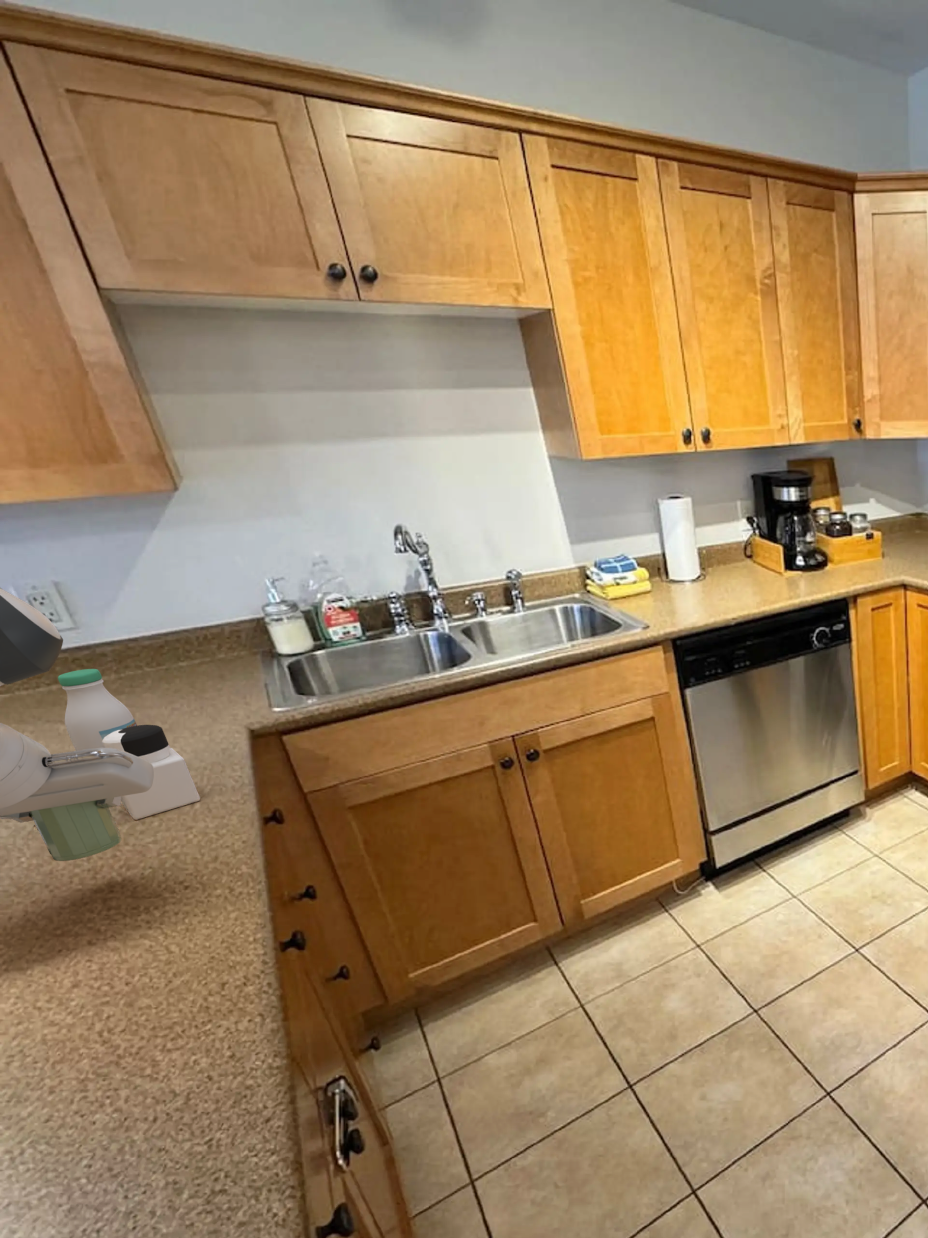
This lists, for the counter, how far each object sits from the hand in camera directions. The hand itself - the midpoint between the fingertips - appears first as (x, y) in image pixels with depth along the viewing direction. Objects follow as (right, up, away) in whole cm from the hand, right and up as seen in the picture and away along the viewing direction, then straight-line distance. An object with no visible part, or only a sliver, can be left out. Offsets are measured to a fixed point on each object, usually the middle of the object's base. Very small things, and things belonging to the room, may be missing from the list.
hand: (72, 808), depth 92 cm
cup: (0, -5, +1) cm, 5 cm away
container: (-15, -3, +25) cm, 30 cm away
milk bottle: (-29, -1, +33) cm, 44 cm away
